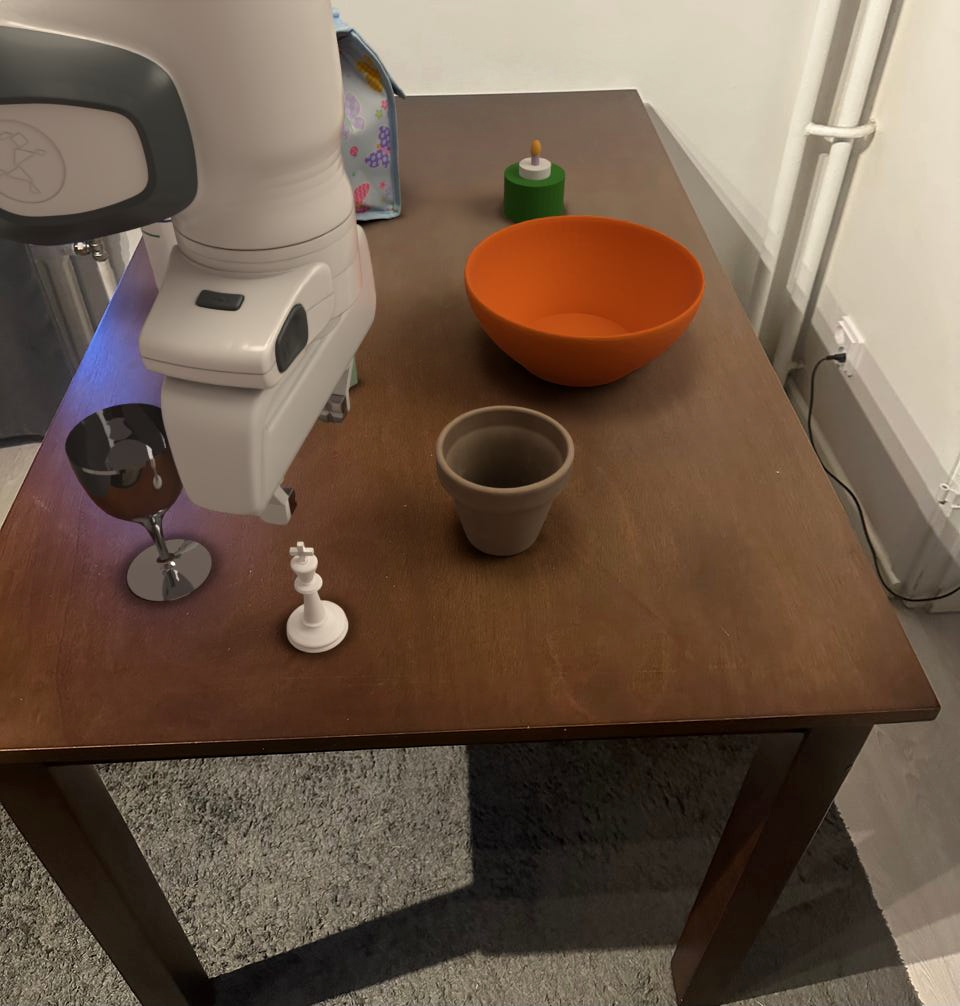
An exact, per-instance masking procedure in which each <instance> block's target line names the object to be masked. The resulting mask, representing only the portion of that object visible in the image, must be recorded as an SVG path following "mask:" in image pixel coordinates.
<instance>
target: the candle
mask: <svg viewBox="0 0 960 1006" xmlns="http://www.w3.org/2000/svg"><path fill="white" fill-rule="evenodd" d="M529 151H530V157H526V158H523V159H521V160H520V161H518V162H515V163H512V164H510V165H509V166H507V167H506V168H505V169H504V172H503V215H504V217H506V219H508V220H509V221H511V222H513V223H515V224H517V223H521V222H525V221H529V220H533V219H538V218H545V217H553V216H563V213H564V201H565V186H566V171H565V170H564V169H563V167H561V166H559V165H558V164H555V163H553V162H551V161H550V160H548V159H546V158H543V157H540V155H541V151H542V144H541V143H540V140H538V139H534V140H533V141H532V143H531V145H530V150H529Z"/></svg>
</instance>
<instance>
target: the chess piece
mask: <svg viewBox="0 0 960 1006" xmlns="http://www.w3.org/2000/svg"><path fill="white" fill-rule="evenodd" d="M288 553H289V556H291V557H292V558H291V561H290V568H291V571H293V572H294V574H295V575H296V576H297V577H296V578H295V580H294V586H293V587H294V589H295V591H296V592H298V593H299V594H301V595H303V604H300V605H299V606H298V607H296V608H295V609H294V610H293V611H292V613H291V614H290V615H289V617H288V619H287V623H286V637H287V640H288V641H289V643H290V644H291V645H292V646H293V647H294V648H295V649H297V650H299V651H302V652H303V653H308V654H309V653H310V654H318V653H323V652H327V651H330V650H332V649H333V648H335V647H337V646H338V645H339V644H340V643H341V642H343V640H344V639H345V638H346V636H347V633H348V630H349V621H348V617H347V615H346V613H345V611H344V610H343V608H342V607H341V606H339V605H338V604H336V603H334V602H333V601H330V600H323V599H321V598H320V595H319V593H318V591H320V589H321V588H322V586H323V579H322V577H321V575H319V574H318V573H316V570H317V568H318V564H319V563H318V562H319V561H318V558H317V556H316V555H315V554H314V553H315V550H314V548H313V547H306V546H305V543H304V541H297V542H296V546H295V547H294V546H290V547H289V552H288Z"/></svg>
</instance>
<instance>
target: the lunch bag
mask: <svg viewBox="0 0 960 1006" xmlns="http://www.w3.org/2000/svg"><path fill="white" fill-rule="evenodd" d="M332 13H333V18H334V24H335V30H336V37H337V44H338V50H339V58H340V66H341V74H342V83H343V92H344V102H345V121H344V126H343V131H342V137H341V155H342V161H343V165H344V168H345V171H346V174H347V176H348V178H349V180H350V183H351V186H352V189H353V194H354V203H355V212H356V221H364V222H365V221H371V220H379V219H382V220H383V219H384V220H385V219H387V220H389V219H390V220H391V219H392V218H397V217H399V216H400V215H401V211H402V198H401V197H402V196H401V180H400V162H399V133H398V114H397V105H396V99H395V98H396V97H395V96H397V97H398V98H401V99H402V100H407V95H406V94H405V93H404V91H403V89H402V88H401V87H400V85H399V84H398V83H397V81H396V80H395V79H394V77H393V76H392V74H391V73H390V71H389V70H388V68H387V66H386V64H385V63H384V62H383V60H382V59H381V57H380V56H379V55H380V54H378V52H377V51H376V50H375V49H374V48H373V47H372V46H371V44H370V43H369V42H368V41H366V39H365V38H364V37H363V35H361V34H360V32H359V31H358V30H357V29H356V28H355V27H354V26H353V25H351V24H350V23H348V22H345V21H344V20H343V19H342V18H341V17H340V9H339V8H338V7H332Z"/></svg>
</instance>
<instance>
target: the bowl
mask: <svg viewBox="0 0 960 1006" xmlns="http://www.w3.org/2000/svg"><path fill="white" fill-rule="evenodd" d="M463 276H464V277H463V279H464V280H463V282H464V287H465V292H466V296H467V299H468V302H469V304H470V307H471V309H472V311H473V313H474V316H475V317H476V319H477V321H478V323H479V324H480V325H481V327H482V329H483V331H485V333H486V334H487V336H488V337H489V338H490V339H491V340H492V341H493V343H495V344H496V345H497V346H498V347H499V349H500V350H501V351H503V352H504V353H505V355H508V357H510V358H511V359H512V360H514V361H515V362H516V363H518V364H519V365H521V366H522V367H524V369H526V371H528V372H529V373H530V374H531V375H534V376H535V377H537V378H539V379H541V380H544V381H547V382H550V383H553V384H556V385H559V386H560V385H561V386H567V387H577V388H578V387H579V388H585V387H586V388H589V387H597V386H602V385H606V384H610V383H613V382H615V381H618V380H620V379H622V378H624V377H625V376H628V374H630V373H632V372H634V371H636V370H638V369H640V368H643V367H644V366H646V365H647V364H649V363H650V362H652V361H654V360H656V358H658V357H659V356H661V355H662V354H663V353H664V352H665V351H667V350H668V349H669V348H670V347H671V346H672V345H674V343H675V342H676V341H678V340H679V339H680V338H681V336H682V335H683V334H684V332H685V331H686V330H687V329H688V328H689V326H690V324H691V323H692V321H693V320H694V318H695V316H696V314H697V312H698V310H699V308H700V306H701V305H702V301H703V298H704V294H705V289H706V279H705V273H704V271H703V268H702V266H701V264H700V262H699V260H698V259H697V258H696V257H695V255H693V253H691V251H689V249H688V248H687V247H685V245H683V244H682V243H680V242H679V241H677V240H675V239H674V238H672V237H670V236H669V235H666V234H665V233H663V232H661V231H658V230H656V229H653V228H651V227H648V226H646V225H642V224H640V223H639V224H638V223H635V222H632V221H628V220H624V219H617V218H612V217H607V216H597V215H596V216H595V215H583V214H582V215H579V214H578V215H562V216H553V217H545V218H538V219H533V220H529V221H525V222H521V223H515V224H511V225H509V226H507V227H504V228H501V229H499V230H498V231H495V232H493V233H491V234H490V235H488V236H487V237H485V238H484V239H483V240H482V241H480V242H479V243H478V244H477V245H476V246H475V248H473V250H472V251H471V252H470V253H469V256H468V258H467V260H466V263H465V267H464V271H463Z"/></svg>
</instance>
